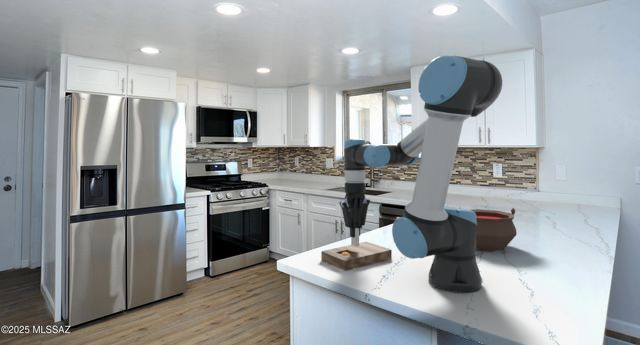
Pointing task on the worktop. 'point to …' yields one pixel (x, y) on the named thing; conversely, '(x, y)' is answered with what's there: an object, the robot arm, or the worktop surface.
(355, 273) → the worktop surface
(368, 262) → the wooden block with hole
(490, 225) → the brown pot
